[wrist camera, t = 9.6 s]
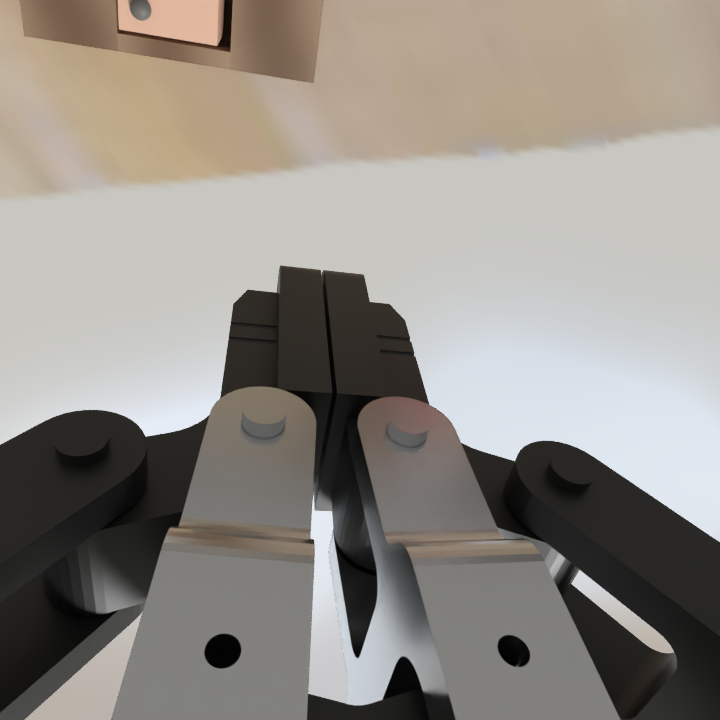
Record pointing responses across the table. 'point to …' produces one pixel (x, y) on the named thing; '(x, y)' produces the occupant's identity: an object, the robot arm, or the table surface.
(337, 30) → the table surface
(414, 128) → the table surface
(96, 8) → the socket board
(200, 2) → the pink dotted block
